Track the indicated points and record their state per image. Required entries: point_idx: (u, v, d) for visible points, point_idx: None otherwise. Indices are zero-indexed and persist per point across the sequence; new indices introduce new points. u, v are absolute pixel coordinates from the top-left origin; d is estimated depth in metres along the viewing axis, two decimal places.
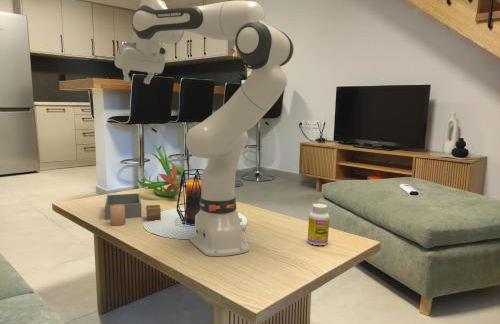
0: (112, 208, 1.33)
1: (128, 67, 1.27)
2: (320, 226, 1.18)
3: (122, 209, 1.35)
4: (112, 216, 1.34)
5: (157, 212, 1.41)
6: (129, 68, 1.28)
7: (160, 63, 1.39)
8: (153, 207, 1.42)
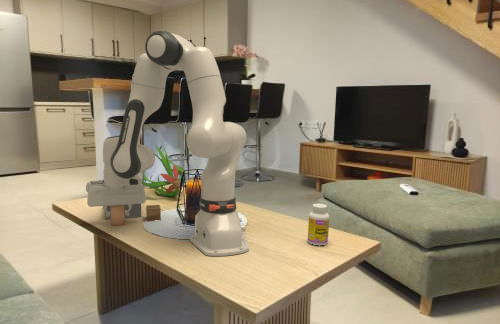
0: (112, 208, 1.33)
1: (97, 204, 1.31)
2: (320, 226, 1.18)
3: (122, 209, 1.35)
4: (112, 216, 1.34)
5: (157, 212, 1.41)
6: (99, 204, 1.32)
7: (139, 193, 1.36)
8: (153, 207, 1.42)
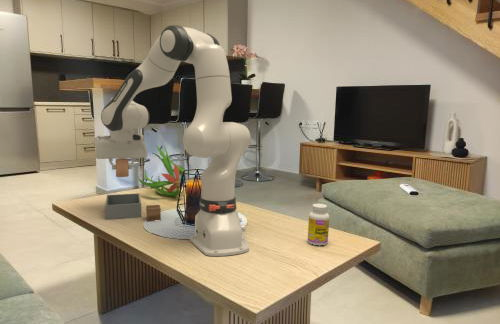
0: (117, 161, 1.50)
1: (104, 156, 1.48)
2: (320, 226, 1.18)
3: (126, 162, 1.51)
4: (117, 168, 1.50)
5: (157, 212, 1.41)
6: (105, 157, 1.48)
7: (141, 148, 1.52)
8: (153, 207, 1.42)
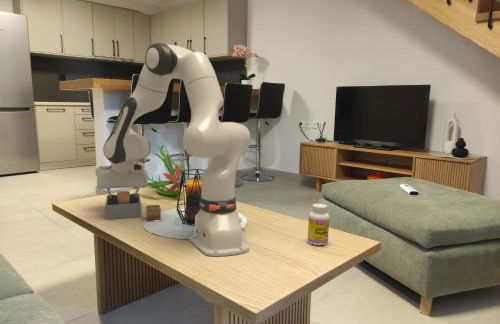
0: (119, 194, 1.52)
1: (105, 186, 1.50)
2: (320, 226, 1.18)
3: (127, 195, 1.53)
4: (119, 201, 1.52)
5: (157, 212, 1.41)
6: (107, 187, 1.50)
7: (142, 177, 1.54)
8: (153, 207, 1.42)
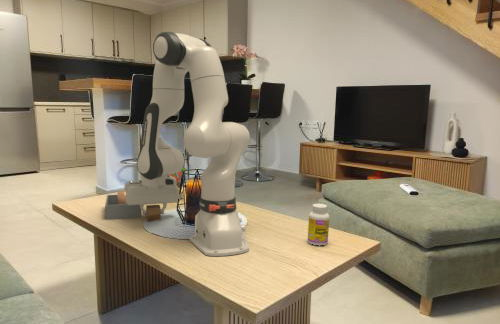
0: (119, 193, 1.52)
1: (135, 203, 1.39)
2: (320, 226, 1.18)
3: None
4: (119, 201, 1.52)
5: (157, 212, 1.41)
6: (136, 203, 1.39)
7: (174, 193, 1.43)
8: (153, 207, 1.42)
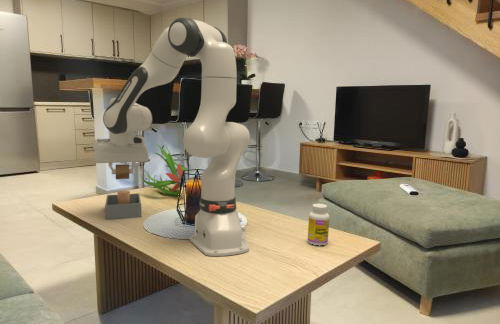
0: (120, 194, 1.51)
1: (103, 160, 1.40)
2: (320, 226, 1.18)
3: (128, 195, 1.53)
4: (119, 201, 1.52)
5: (126, 170, 1.43)
6: (105, 161, 1.41)
7: (143, 152, 1.44)
8: (122, 165, 1.44)
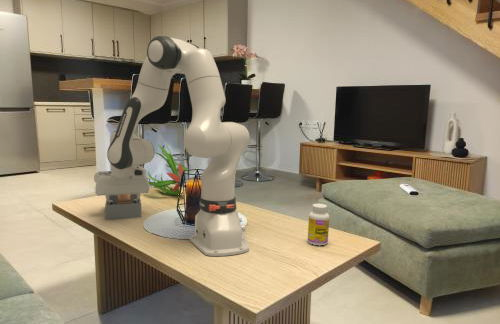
0: (121, 194, 1.52)
1: (104, 193, 1.42)
2: (320, 226, 1.18)
3: (129, 194, 1.53)
4: None
5: None
6: (106, 193, 1.42)
7: (143, 183, 1.46)
8: (123, 202, 1.46)
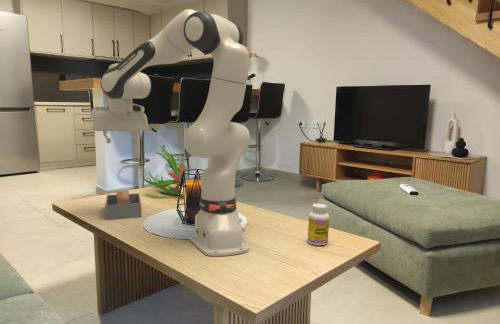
0: (120, 194, 1.52)
1: (102, 128, 1.38)
2: (320, 226, 1.18)
3: (128, 193, 1.54)
4: None
5: None
6: (103, 129, 1.39)
7: (142, 121, 1.43)
8: (123, 202, 1.46)
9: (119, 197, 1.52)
